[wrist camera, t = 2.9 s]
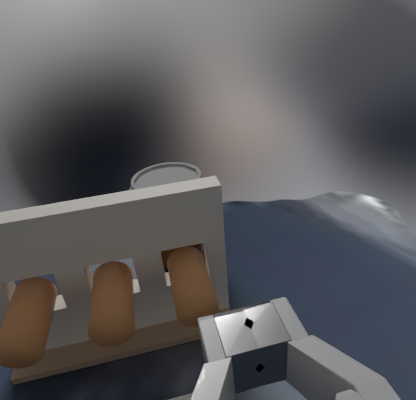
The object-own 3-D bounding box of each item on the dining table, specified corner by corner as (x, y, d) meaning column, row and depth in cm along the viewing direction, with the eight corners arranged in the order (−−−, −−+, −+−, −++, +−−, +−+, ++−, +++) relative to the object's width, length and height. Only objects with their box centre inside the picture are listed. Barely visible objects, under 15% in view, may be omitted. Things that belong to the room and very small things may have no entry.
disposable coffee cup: (219, 269, 44) (213, 187, 38) (146, 284, 43) (127, 202, 37) (204, 228, 52) (197, 156, 46) (142, 240, 51) (126, 167, 45)
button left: (2, 373, 27) (-17, 343, 25) (22, 310, 32) (8, 282, 30) (50, 361, 27) (35, 331, 25) (62, 301, 33) (50, 273, 31)
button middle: (94, 351, 28) (82, 320, 26) (98, 294, 33) (89, 265, 31) (138, 340, 28) (130, 310, 26) (135, 286, 34) (128, 258, 32)
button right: (179, 330, 29) (173, 300, 27) (169, 278, 34) (164, 250, 32) (220, 320, 29) (217, 290, 27) (204, 271, 35) (201, 243, 33)
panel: (13, 385, 32) (-69, 253, 24) (30, 326, 38) (-32, 204, 30) (235, 330, 36) (228, 198, 28) (219, 284, 42) (209, 165, 34)
